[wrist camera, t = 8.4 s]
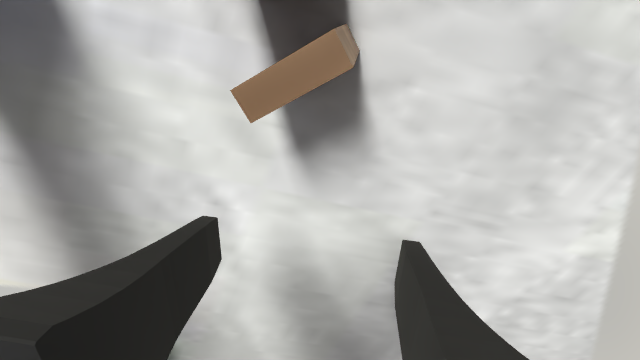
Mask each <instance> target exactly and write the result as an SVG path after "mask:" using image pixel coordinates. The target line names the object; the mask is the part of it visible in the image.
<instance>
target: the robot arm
mask: <svg viewBox="0 0 640 360" xmlns="http://www.w3.org/2000/svg"><path fill="white" fill-rule="evenodd" d="M221 259H222V258H221V248H220V238H219V228H218V218H216V217H208V216H202V217H199V218H197V219H196V220H194V221H192V222H190V223H188V224H187V225H185V226H183V227H181V228H180V229H178V230H176V231H174V232H173V233H171V234H169V235H167V236H165V237H164V238H162V239H160V240H158V241H156V242H155V243H153V244H151V245H149V246H147V247H145V248H143V249H141V250H139V251H137V252H135V253H133V254H131V255H129V256H127V257H125V258H122V259H120V260H118V261H115V262H113V263H111V264H108V265H106V266H103V267H101V268H98V269H96V270H93V271H90V272H87V273H84V274H81V275H79V276H76V277H73V278H70V279H67V280H64V281H60V282H57V283H54V284H50V285H47V286H43V287H40V288H36V289H32V290H28V291H24V292H20V293H15V294H11V295H6V296H2V297H0V360H167V358H168V356H169V354H170V352H171V350H172V348H173V346H174V344H175V342H176V340H177V338H178V336H179V334H180V333H181V331H182V329H183V328H184V326H185V324H186V323H187V321H188V319H189V318H190V316H191V315H192V313H193V311H194V310H195V308H196V307H197V305H198V303H199V302H200V300H201V298H202V297H203V295H204V294H205V292H206V290H207V289H208V287H209V285H210V284H211V282H212V280H213V278H214V276H215V273H216V271H217V269H218V266H219V264H220V262H221ZM395 309H396V317H397V324H398V331H399V338H400V345H401V352H402V359H403V360H529V359H528V358H526V357H525V356H524V355H522V354H521V353H520V352H518V351H517V350H516V349H515V348H513V347H512V346H511V345H510V344H508V343H507V342H506V341H505V340H504V339H503V338H501V337H500V336H499V335H498V334H497V333H496V332H494V331H493V330H492V329H491V328H490V327H489V326H488V325H487V324H486V323H484V322H483V321H482V320H481V319H480V318H479V317H478V316H477V315H476V314H475V313H474V312H473V311H472V310H471V309H470V308H469V307H468V305H467V304H466V303H465V302H464V301H463V300H462V299H461V298H460V296H459V295H458V294H457V293H456V292H455V291H454V289H453V288H452V287H451V286H450V284H449V283H448V282H447V280H446V279H445V278H444V276H443V275H442V274H441V272H440V271H439V270H438V268H437V267H436V265H435V264H434V263H433V261H432V260H431V258H430V257H429V255H428V254H427V252H426V251H425V249H424V248H423V246H422V245H421V243H420V242H416V241H408V240H403V241H402V246H401V251H400V257H399V262H398V267H397V272H396V278H395Z"/></svg>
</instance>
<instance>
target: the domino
mask: <svg viewBox="0 0 640 360" xmlns="http://www.w3.org/2000/svg"><path fill="white" fill-rule="evenodd" d="M359 51H360V50H359V48H358V46H357V44H356V42H355V40H354V38H353V36H352V33H351V31H350V29H349V27H348V25H347V24H345V25H342V26H339V27H337V28H334V29H332V30H331V31H329V32H327V33H326V34H324V35H322V36H321V37H319V38H317V39H316V40H314V41H312V42H311V43H309V44H307V45H306V46H304V47H302V48H301V49H299V50H297V51H296V52H294V53H292V54H291V55H289V56H287V57H286V58H284V59H282V60H280V61H279V62H277V63H275V64H274V65H272V66H270V67H269V68H267V69H265V70H264V71H262V72H260V73H259V74H257V75H255V76H254V77H252V78H250V79H249V80H247V81H245V82H244V83H242V84H240V85H239V86H237V87H235V88H233V89H232V90H230V91H231V92H232V94H233V96H234V97H235V99H236V100H237V102H238V104H239V105H240V107H241V108H242V110H243V112H244V113H245V115H246V116H247V118H248V120H249V121H250V123H252V122H254V121H256V120H258V119H260V118H262V117H263V116H265V115H267V114H269V113H271V112H273V111H274V110H276V109H278V108H280V107H282V106H284V105H285V104H287V103H289V102H291V101H293V100H295V99H297V98H298V97H300V96H302V95H304V94H306V93H308V92H309V91H311V90H313V89H315V88H317V87H319V86H320V85H322V84H324V83H326V82H328V81H330V80H332V79H333V78H335V77H337V76H339V75H341V74H343V73H344V72H346V71H348V70H350V69H352V68H353V67H354V64H355V62H356V59H357V56H358V53H359Z"/></svg>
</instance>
